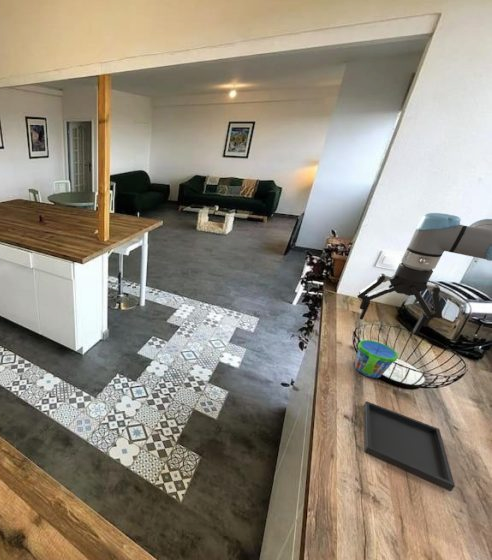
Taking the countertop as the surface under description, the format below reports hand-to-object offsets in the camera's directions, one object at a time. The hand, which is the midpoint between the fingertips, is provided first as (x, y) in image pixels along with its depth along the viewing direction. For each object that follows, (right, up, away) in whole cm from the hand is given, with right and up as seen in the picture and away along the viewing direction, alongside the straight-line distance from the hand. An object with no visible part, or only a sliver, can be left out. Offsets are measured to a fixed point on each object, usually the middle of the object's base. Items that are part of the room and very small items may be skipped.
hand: (386, 325), depth 101 cm
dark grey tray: (-10, -31, -16) cm, 36 cm away
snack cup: (+2, -18, +10) cm, 21 cm away
